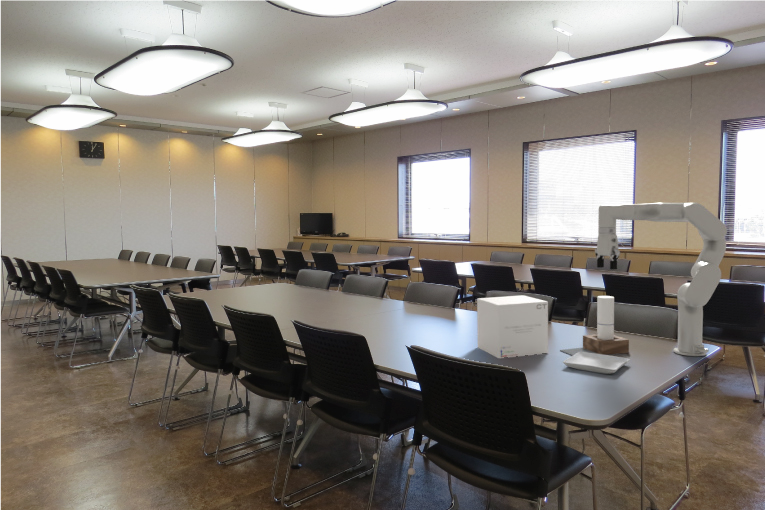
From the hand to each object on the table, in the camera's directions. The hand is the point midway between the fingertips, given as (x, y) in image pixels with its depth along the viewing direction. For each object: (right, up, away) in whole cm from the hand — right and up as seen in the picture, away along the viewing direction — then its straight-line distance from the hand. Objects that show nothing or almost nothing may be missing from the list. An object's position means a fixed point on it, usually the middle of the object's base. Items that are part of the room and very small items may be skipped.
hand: (606, 268), depth 242 cm
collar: (0, -38, 0) cm, 38 cm away
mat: (-14, -39, -3) cm, 41 cm away
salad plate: (-15, -41, -25) cm, 50 cm away
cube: (-43, -40, +5) cm, 59 cm away
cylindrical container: (0, -38, +1) cm, 38 cm away
